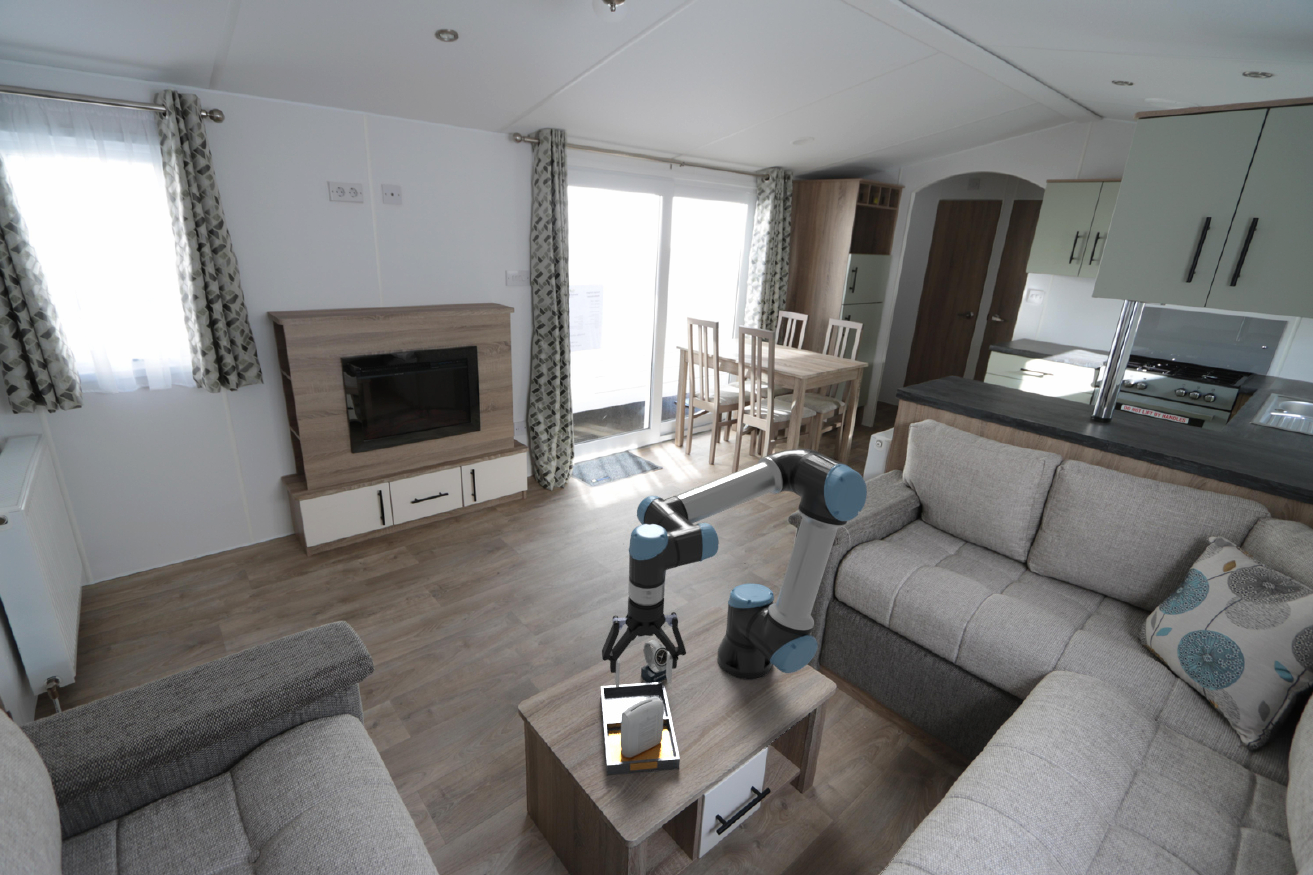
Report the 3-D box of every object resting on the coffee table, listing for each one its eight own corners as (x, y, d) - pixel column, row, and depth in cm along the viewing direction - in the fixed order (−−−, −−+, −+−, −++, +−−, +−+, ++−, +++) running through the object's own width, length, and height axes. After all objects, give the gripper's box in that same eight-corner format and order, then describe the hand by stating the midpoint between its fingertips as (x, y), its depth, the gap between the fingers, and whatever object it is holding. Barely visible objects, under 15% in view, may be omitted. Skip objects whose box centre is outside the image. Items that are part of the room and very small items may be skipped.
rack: (663, 690, 159) (663, 681, 158) (679, 769, 137) (680, 759, 136) (600, 695, 157) (600, 686, 156) (607, 776, 134) (607, 766, 133)
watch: (655, 690, 159) (656, 656, 155) (637, 672, 165) (638, 639, 161) (671, 682, 162) (673, 648, 158) (653, 664, 168) (655, 631, 164)
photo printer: (654, 729, 145) (656, 688, 141) (664, 742, 142) (667, 700, 138) (617, 748, 140) (618, 706, 136) (626, 761, 137) (628, 718, 132)
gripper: (590, 610, 122) (590, 697, 129) (704, 604, 125) (698, 689, 133) (589, 588, 129) (589, 672, 136) (697, 583, 132) (691, 665, 140)
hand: (642, 680), depth 134 cm, fingers open, 11 cm apart
